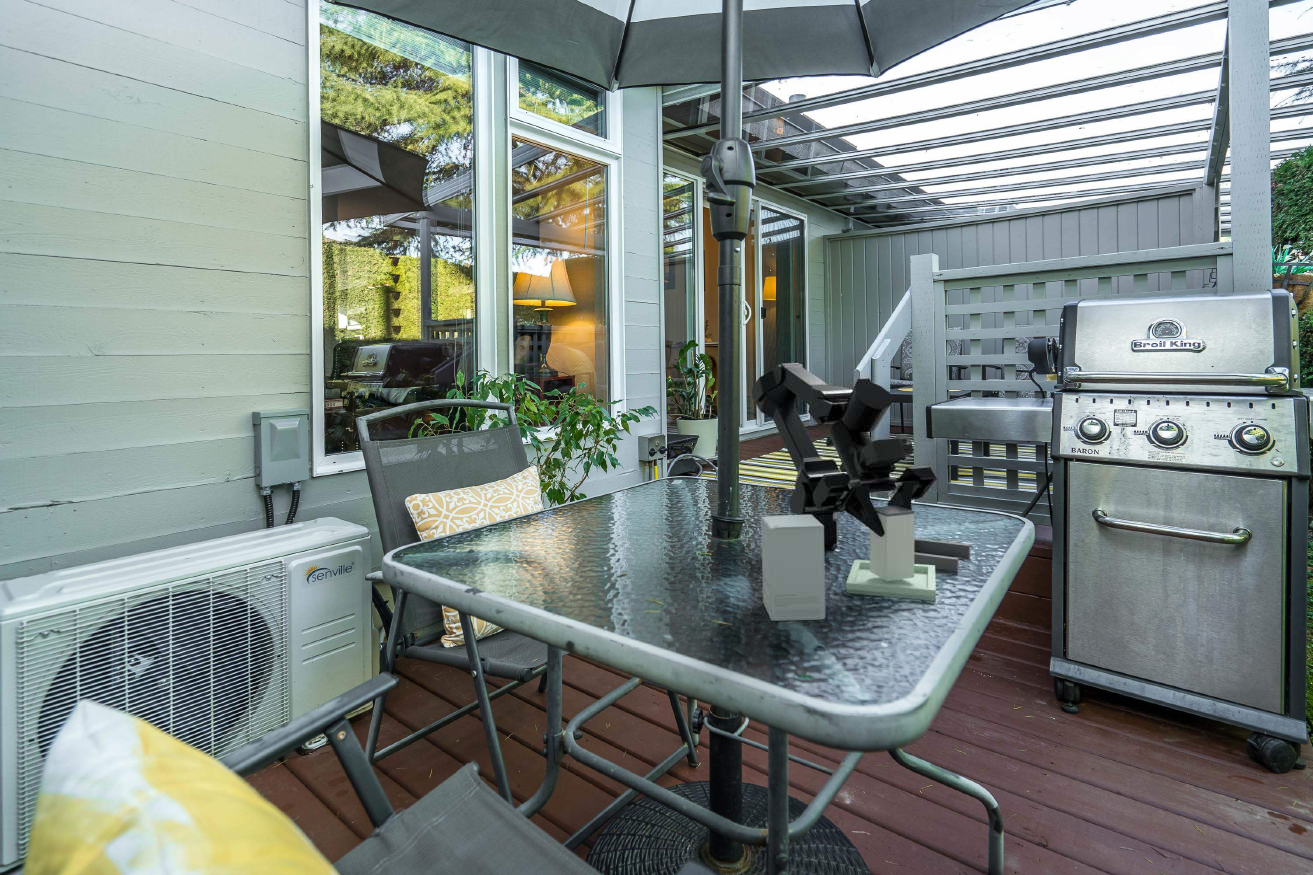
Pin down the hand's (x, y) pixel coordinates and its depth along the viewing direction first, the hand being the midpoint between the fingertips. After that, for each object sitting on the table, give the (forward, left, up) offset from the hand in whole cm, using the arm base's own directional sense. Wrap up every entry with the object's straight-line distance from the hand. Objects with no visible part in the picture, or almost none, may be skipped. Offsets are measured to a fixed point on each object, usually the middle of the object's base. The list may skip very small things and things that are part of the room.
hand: (896, 533), depth 97 cm
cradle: (+5, +15, -8) cm, 18 cm away
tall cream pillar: (-1, +1, -7) cm, 7 cm away
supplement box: (-13, -14, -8) cm, 21 cm away
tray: (-1, +1, -8) cm, 8 cm away
